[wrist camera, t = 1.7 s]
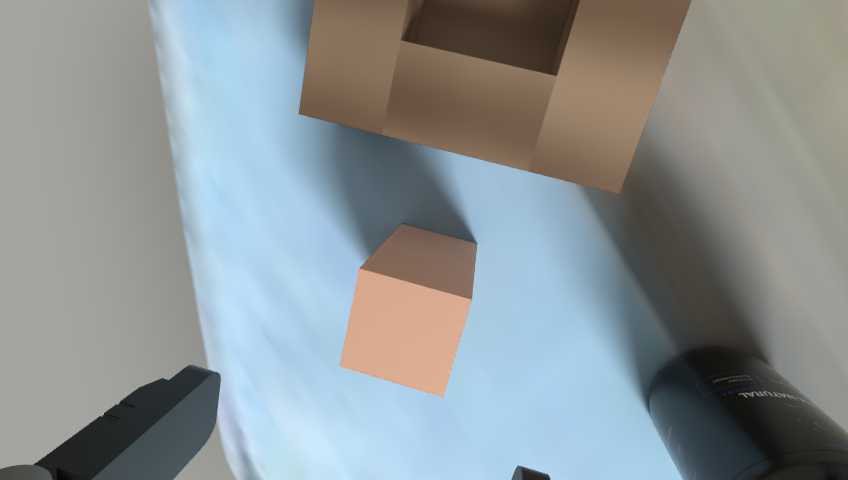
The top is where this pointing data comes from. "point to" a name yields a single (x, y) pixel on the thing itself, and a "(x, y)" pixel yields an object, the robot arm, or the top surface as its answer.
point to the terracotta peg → (411, 309)
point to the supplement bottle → (742, 422)
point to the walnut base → (497, 77)
